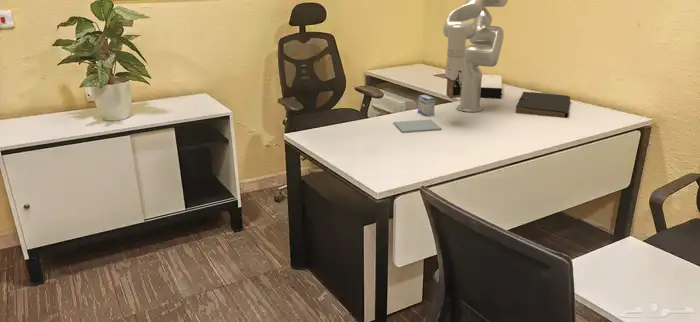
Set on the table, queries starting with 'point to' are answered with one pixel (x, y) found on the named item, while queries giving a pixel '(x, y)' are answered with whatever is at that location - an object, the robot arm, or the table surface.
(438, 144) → the table surface
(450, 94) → the walnut block
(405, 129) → the slate board
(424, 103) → the medicine box
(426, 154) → the table surface
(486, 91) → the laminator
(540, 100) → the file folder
